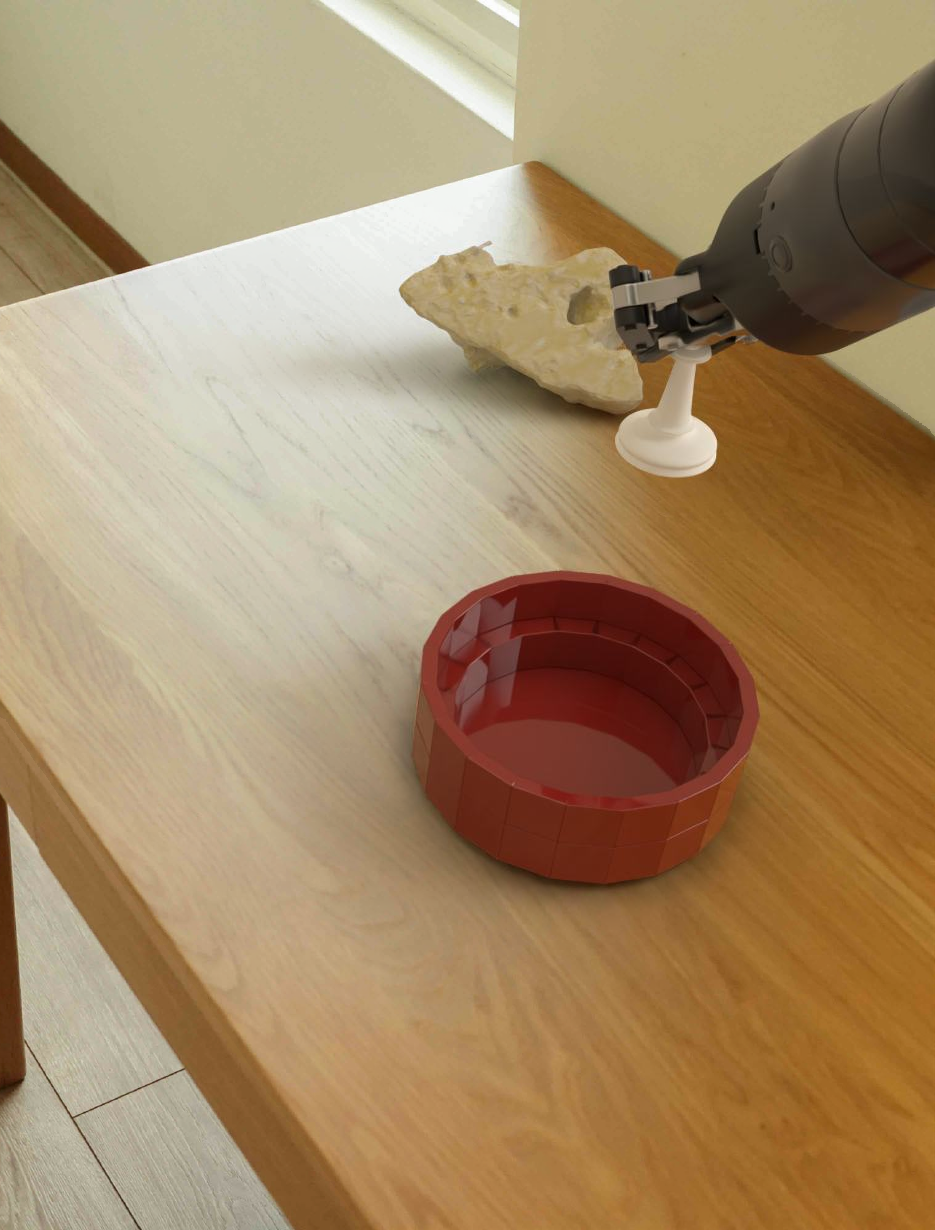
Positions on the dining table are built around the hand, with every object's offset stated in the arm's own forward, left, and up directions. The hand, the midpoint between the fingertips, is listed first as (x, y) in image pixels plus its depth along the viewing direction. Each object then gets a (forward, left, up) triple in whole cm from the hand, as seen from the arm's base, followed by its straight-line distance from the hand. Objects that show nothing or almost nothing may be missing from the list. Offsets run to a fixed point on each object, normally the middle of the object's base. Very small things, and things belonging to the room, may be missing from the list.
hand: (668, 339), depth 73 cm
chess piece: (0, +2, -5) cm, 6 cm away
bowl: (+5, +8, -20) cm, 22 cm away
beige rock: (-3, -26, -20) cm, 33 cm away
